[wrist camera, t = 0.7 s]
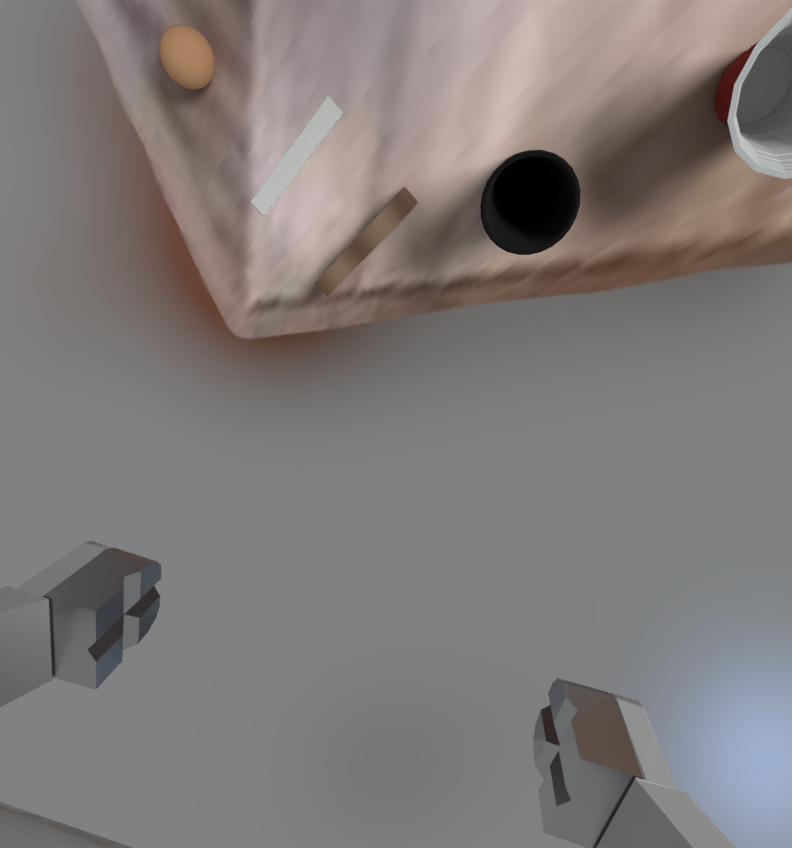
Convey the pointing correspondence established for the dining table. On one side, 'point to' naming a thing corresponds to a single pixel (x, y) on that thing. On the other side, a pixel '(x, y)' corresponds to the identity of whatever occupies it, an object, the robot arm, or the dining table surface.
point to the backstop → (367, 241)
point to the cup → (530, 202)
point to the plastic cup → (761, 102)
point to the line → (297, 155)
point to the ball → (187, 56)
